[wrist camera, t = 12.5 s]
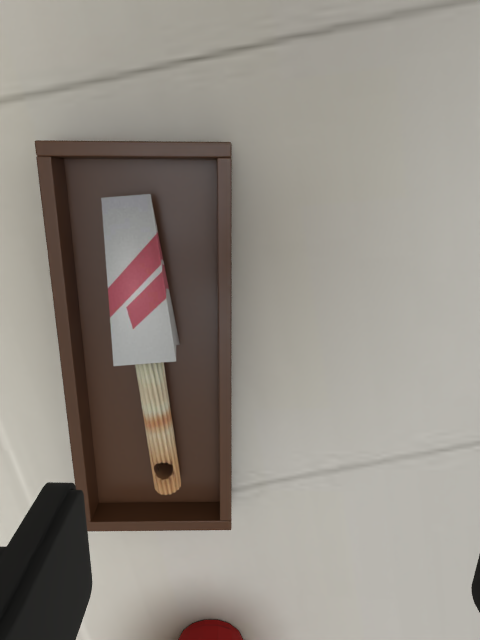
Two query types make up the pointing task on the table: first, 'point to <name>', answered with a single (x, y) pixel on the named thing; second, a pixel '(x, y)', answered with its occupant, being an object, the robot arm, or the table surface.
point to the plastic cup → (210, 631)
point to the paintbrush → (143, 321)
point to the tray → (190, 317)
